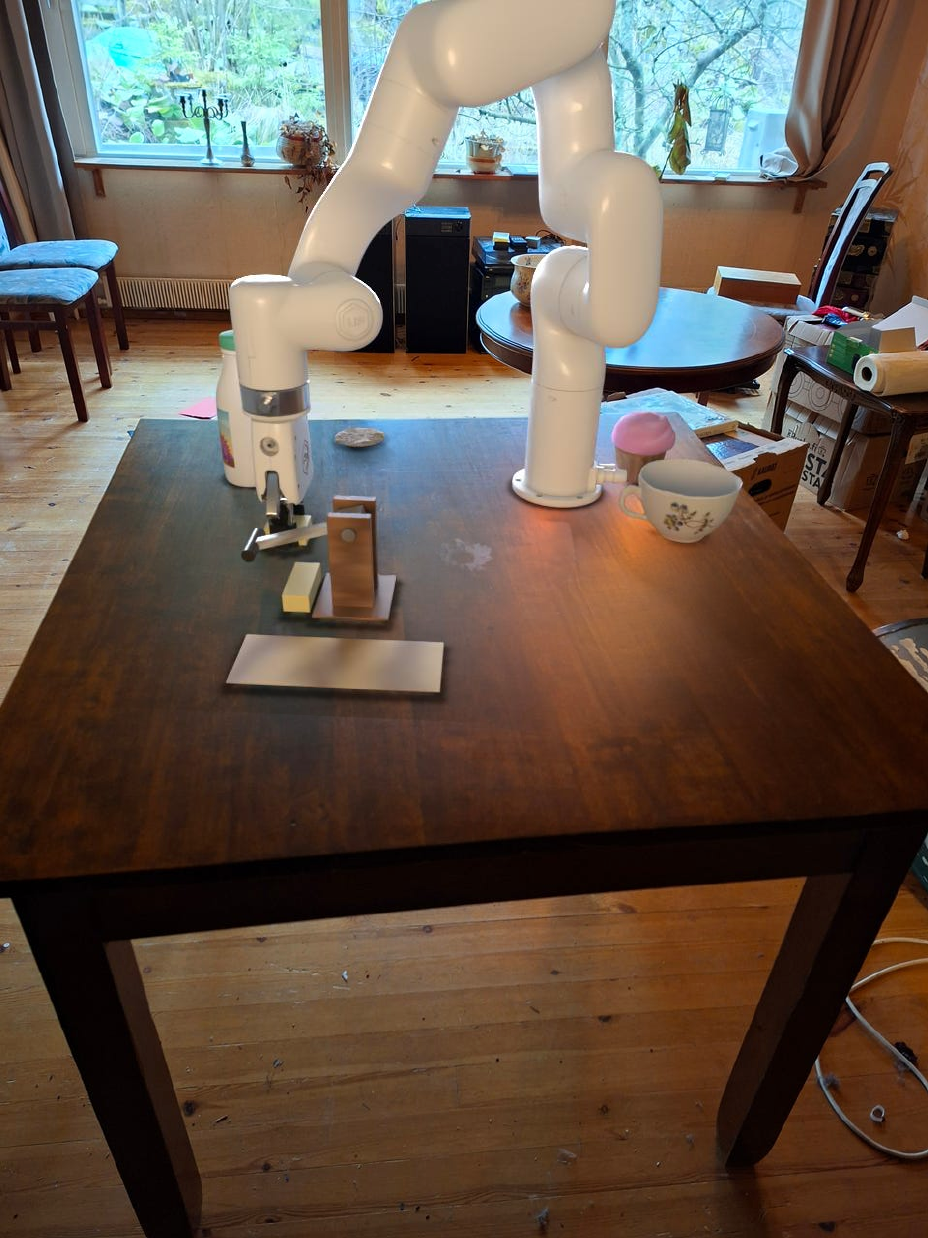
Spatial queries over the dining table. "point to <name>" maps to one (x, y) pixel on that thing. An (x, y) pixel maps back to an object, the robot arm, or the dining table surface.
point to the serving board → (338, 663)
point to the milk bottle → (233, 419)
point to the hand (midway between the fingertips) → (289, 541)
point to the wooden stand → (354, 566)
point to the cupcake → (641, 441)
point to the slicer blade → (288, 535)
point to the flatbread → (359, 437)
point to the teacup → (683, 497)
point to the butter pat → (301, 522)
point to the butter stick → (301, 587)
